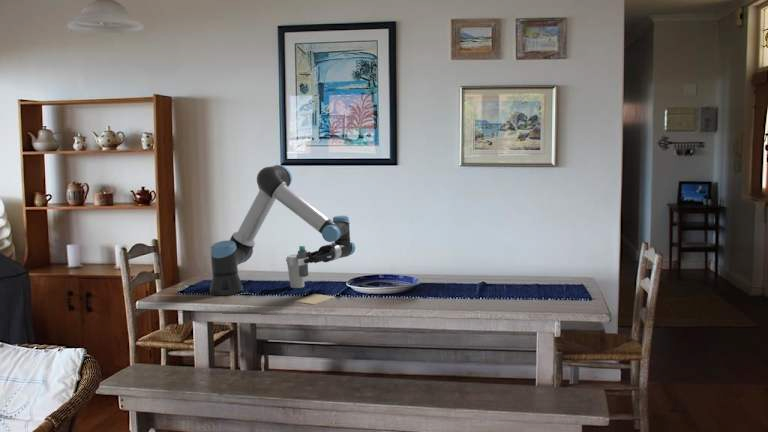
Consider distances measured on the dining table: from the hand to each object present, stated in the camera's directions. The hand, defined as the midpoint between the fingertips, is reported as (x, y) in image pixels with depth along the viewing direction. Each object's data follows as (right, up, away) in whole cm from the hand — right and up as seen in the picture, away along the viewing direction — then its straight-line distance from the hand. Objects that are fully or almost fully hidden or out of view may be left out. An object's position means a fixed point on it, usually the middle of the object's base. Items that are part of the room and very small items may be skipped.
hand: (294, 262), depth 290 cm
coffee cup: (-3, -14, +33) cm, 36 cm away
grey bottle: (+3, -6, +5) cm, 9 cm away
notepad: (+8, -17, +7) cm, 20 cm away
